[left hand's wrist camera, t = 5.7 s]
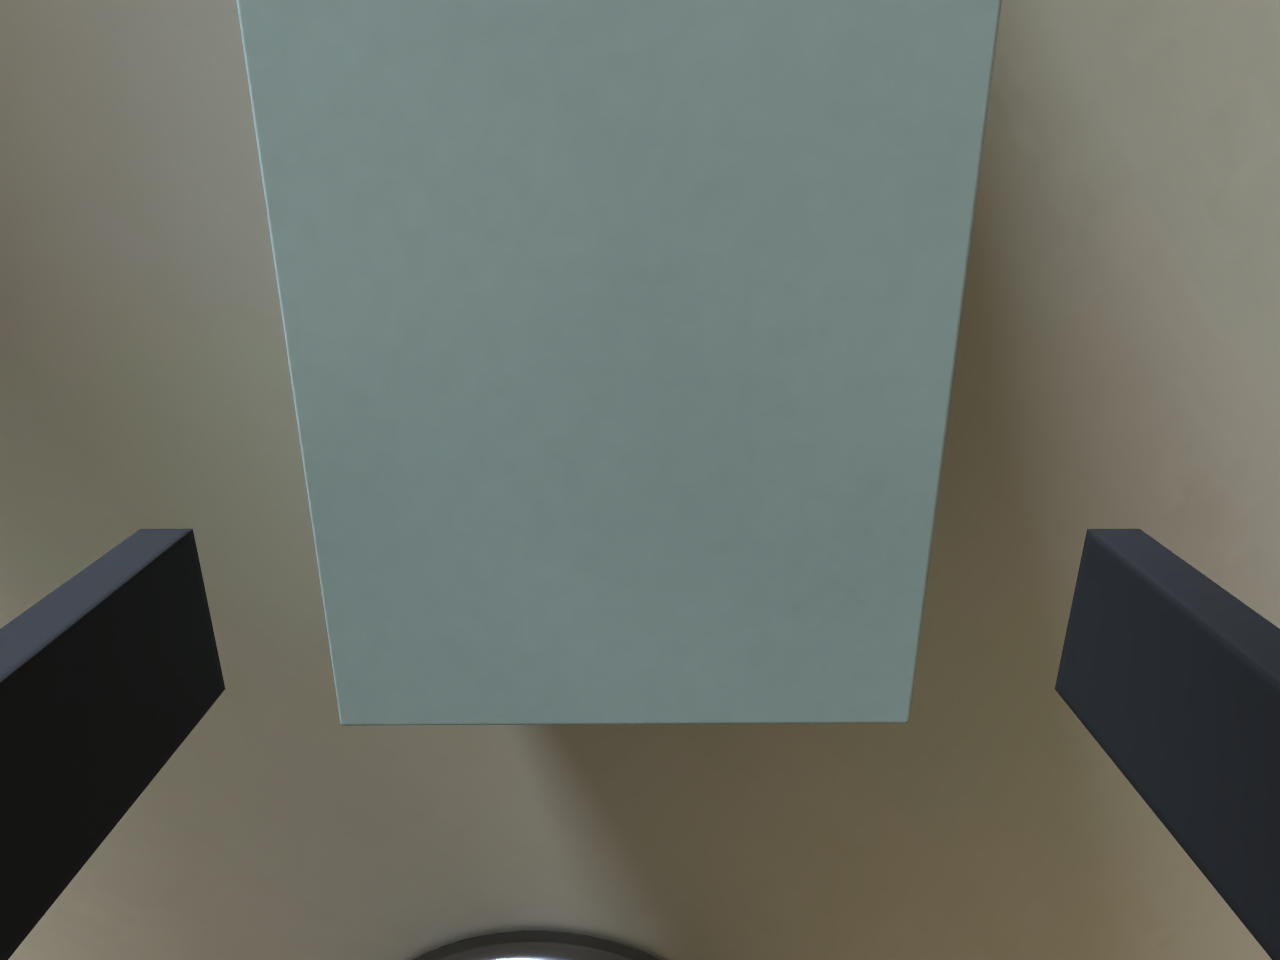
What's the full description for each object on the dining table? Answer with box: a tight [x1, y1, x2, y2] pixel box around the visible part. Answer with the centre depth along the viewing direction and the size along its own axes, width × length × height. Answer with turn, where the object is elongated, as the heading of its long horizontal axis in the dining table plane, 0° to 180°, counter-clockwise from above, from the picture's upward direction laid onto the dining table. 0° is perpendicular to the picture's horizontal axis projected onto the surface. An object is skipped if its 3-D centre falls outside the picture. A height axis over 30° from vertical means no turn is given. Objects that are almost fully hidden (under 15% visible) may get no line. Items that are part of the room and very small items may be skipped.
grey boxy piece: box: [237, 0, 1002, 725], centre depth 17 cm, size 18×11×9 cm, turn 0°
